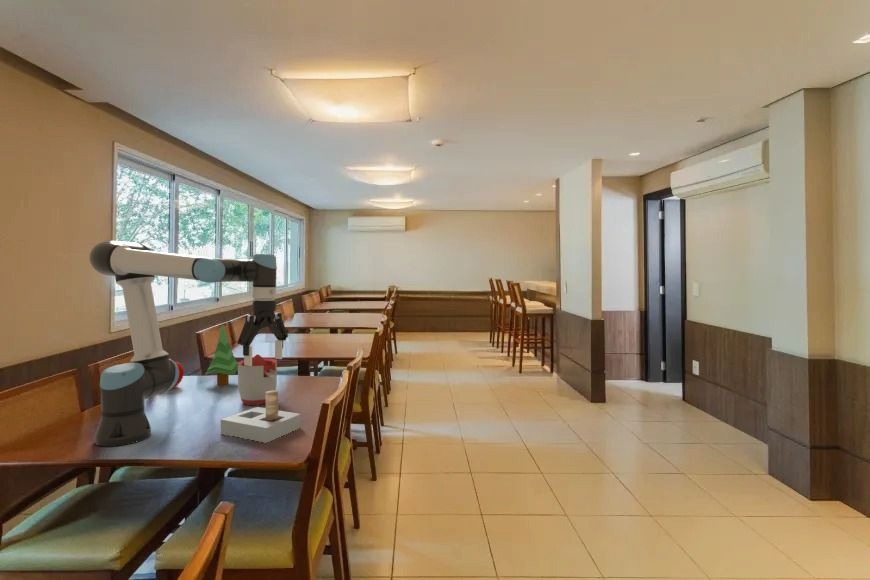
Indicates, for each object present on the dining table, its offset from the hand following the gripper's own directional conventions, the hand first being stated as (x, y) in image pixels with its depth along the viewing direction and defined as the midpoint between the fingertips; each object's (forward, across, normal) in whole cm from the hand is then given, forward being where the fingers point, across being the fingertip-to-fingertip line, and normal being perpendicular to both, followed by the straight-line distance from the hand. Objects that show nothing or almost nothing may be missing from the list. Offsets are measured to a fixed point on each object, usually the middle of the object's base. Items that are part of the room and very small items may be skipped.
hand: (263, 362), depth 157 cm
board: (+24, -1, 0) cm, 24 cm away
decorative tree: (+24, +39, +65) cm, 80 cm away
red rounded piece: (+25, +24, +82) cm, 89 cm away
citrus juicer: (+24, +24, +27) cm, 44 cm away
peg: (+23, -1, -5) cm, 24 cm away
